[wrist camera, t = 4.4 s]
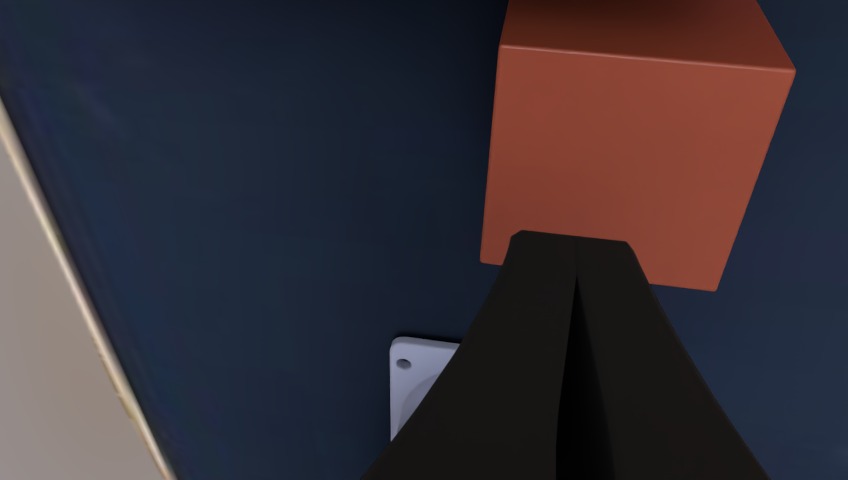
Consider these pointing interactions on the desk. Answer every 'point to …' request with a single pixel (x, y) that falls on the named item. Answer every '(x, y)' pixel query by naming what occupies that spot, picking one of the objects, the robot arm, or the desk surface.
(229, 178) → the desk surface
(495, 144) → the block
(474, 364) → the robot arm
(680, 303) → the desk surface
